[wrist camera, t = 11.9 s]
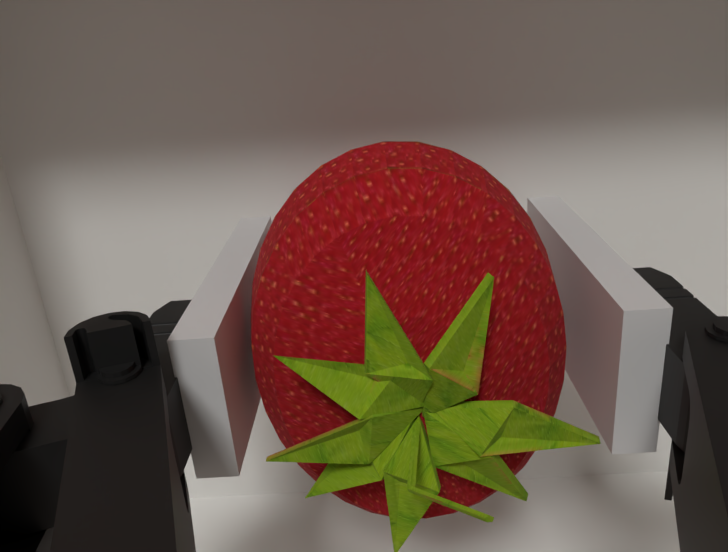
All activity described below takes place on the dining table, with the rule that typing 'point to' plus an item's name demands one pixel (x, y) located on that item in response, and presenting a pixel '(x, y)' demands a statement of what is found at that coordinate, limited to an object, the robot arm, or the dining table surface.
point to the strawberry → (409, 334)
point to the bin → (322, 144)
